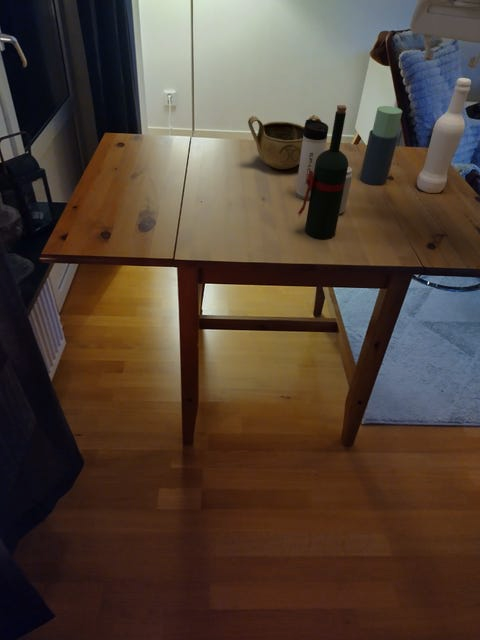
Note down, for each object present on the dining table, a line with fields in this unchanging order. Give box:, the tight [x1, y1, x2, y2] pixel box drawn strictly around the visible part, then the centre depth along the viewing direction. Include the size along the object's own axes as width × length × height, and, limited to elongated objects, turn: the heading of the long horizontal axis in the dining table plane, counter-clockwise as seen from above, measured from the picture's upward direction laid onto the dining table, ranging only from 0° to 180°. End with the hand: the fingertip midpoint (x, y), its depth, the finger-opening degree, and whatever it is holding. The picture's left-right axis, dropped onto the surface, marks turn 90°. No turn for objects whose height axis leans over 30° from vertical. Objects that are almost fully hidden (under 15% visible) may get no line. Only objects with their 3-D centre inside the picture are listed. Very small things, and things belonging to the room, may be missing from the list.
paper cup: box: [371, 105, 403, 138], centre depth 130 cm, size 7×7×6 cm
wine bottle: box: [297, 104, 349, 241], centre depth 106 cm, size 8×10×30 cm
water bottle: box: [359, 129, 399, 186], centre depth 135 cm, size 8×8×18 cm
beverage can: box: [339, 165, 353, 215], centre depth 121 cm, size 6×6×12 cm
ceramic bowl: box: [247, 114, 322, 170], centre depth 142 cm, size 22×17×15 cm
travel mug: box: [295, 118, 329, 201], centre depth 125 cm, size 6×7×20 cm
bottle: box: [416, 77, 472, 194], centre depth 129 cm, size 8×8×30 cm
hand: (449, 63), depth 99 cm, fingers open, 8 cm apart
